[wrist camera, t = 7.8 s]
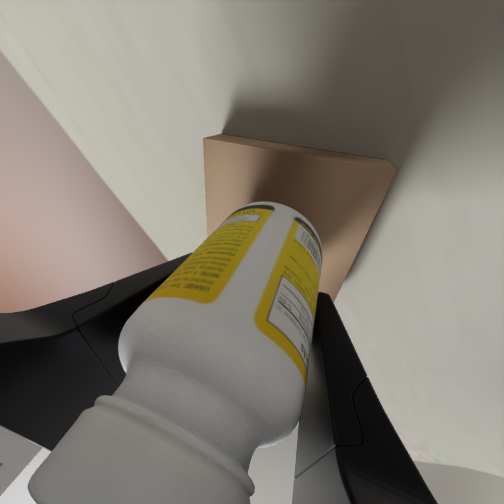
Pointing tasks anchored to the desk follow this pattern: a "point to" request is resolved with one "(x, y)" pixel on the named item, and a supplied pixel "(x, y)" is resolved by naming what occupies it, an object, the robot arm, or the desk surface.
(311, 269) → the supplement bottle
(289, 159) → the base plate
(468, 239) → the desk surface
